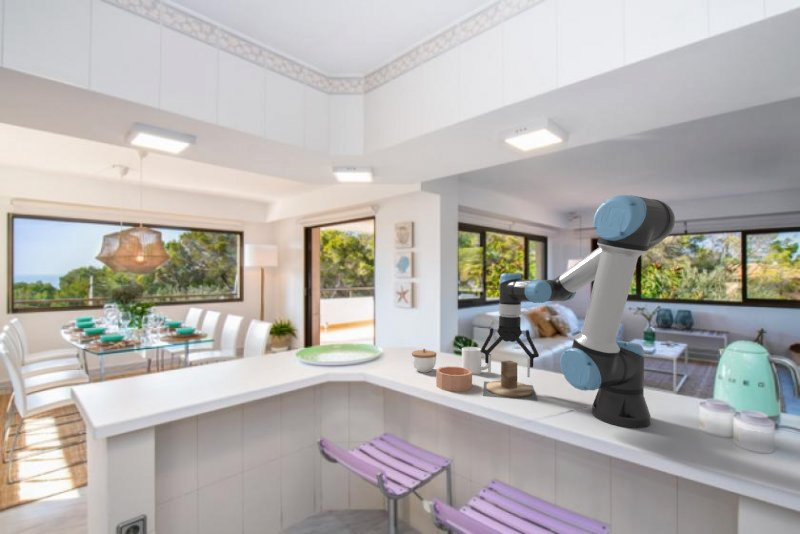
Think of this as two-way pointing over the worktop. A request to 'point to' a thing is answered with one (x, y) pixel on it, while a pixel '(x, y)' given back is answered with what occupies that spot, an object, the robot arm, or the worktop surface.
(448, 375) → the bowl
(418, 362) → the lidded jar
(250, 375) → the worktop surface
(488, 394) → the mat
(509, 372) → the cover
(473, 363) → the mug
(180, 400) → the worktop surface
